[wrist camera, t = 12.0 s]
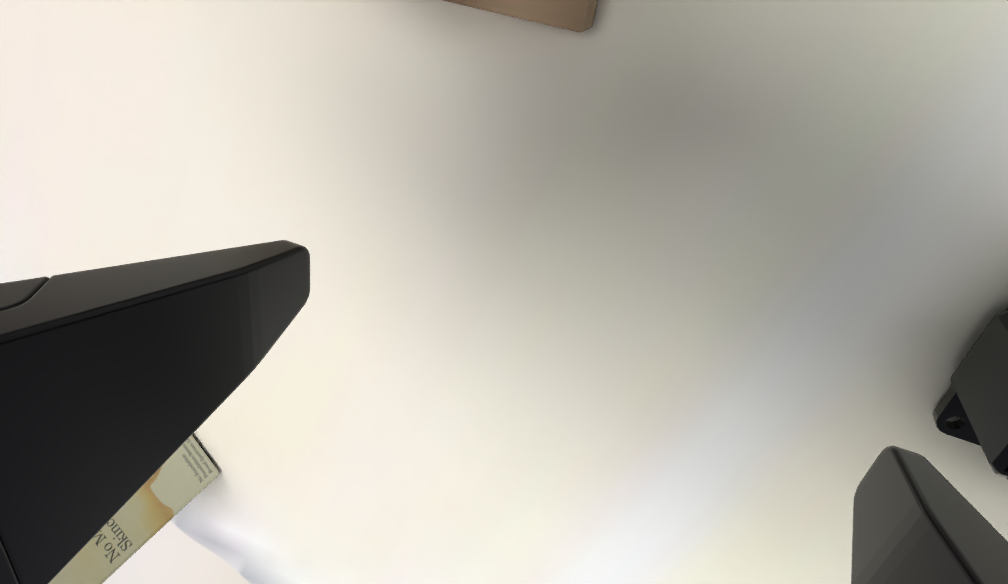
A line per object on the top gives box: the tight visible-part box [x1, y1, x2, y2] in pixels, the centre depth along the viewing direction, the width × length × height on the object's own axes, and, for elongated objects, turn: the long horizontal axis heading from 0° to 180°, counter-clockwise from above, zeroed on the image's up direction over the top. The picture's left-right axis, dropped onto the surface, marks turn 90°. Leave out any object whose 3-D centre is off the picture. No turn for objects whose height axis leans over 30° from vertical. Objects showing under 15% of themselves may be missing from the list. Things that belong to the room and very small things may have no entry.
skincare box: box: [49, 435, 219, 584], centre depth 31 cm, size 6×4×12 cm
